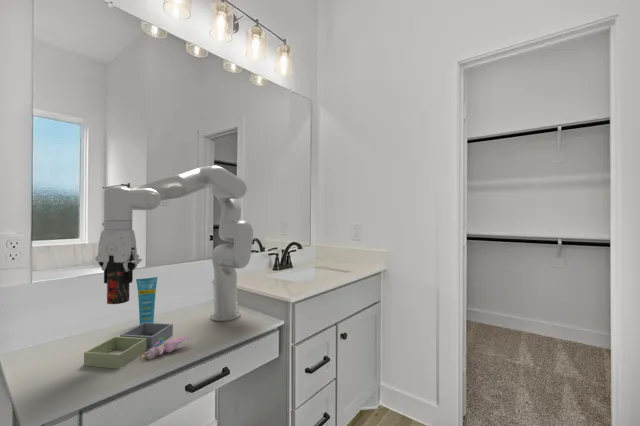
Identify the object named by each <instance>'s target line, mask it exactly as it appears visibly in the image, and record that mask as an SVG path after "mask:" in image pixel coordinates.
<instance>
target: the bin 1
mask: <svg viewBox="0 0 640 426" xmlns="http://www.w3.org/2000/svg"><path fill="white" fill-rule="evenodd" d="M114 350H122V352H120V353H112V351H114ZM123 350H124V351H123ZM147 351H148V349H147V338H133V337H120V336H119V335H118V336H117V335H116V336H115V335H114V336H113V337H111V338H109V339H106V340H105V341H103V342H101V343H100V344H97V345H96V346H93V347H92V348H90V349H88V350H86V351H84V352H83V366H84V367H94V368H95V367H96V368H106V369H107V368H108V369H121V368H123V367H124V366H125V364H126V365H127V364H129V363H130V362H132V361H133V360H134V359H136V358H137V357H140V354H142V353H143V352H147ZM110 352H111V353H110Z"/></svg>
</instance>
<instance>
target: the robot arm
mask: <svg viewBox="0 0 640 426" xmlns="http://www.w3.org/2000/svg"><path fill="white" fill-rule="evenodd" d="M207 188H208V189H209V188H211V193H212V194H213V195H214V197H215V198H216V200H217V201H218V202H219V205H220V208H221V210H220V217H219V218H220V219H219V226H218V237H219V238H220V239H221V240H222V241H225V242H231V243H233V244H225V243H223V244H222V243H221V244H219V245H217V246H216V247H214V249H213V250H212V253H211V261H212V266H213V277H214V279H213V282H214V283H213V285H214V286H213V295H214V296H213V312H211V313H210V317H209V318H210V319H211V321H216V322H229V321H233V320H236V319H238V318H239V317H240V316H241V311H240V310H238V309H237V307H238V306H239V302H238V295H237V294H238V275H237V274H238V273H237V270H236V269H244V268H246V267H247V266H248V264H249V262H250V260H251V255H252V250H253V249H252V247H253V241H254V240H253V239H254V229H253V226H252V224H251V223H250V222H248V221H247V220H241V218H242V217H241V216H242V206H241V204H240V202H239V200H238V199H241V198H244V197H245V195H246V194H247V190H248V188H247V184H246V183H245V181H244V180H243V179H242V178H240V177H239V176H237V175H236V174H234V173H232V172H230V171H229V170H227V169H226V168H224V167H222V166H219V165H208V166H201V167H197V168H196V167H195V168H193V169H191V170H187V171H185V172H184V171H183V172H181V173H178V174H175V175H172V176H168V177H165V178H161V179H158V180H155V181H151V182H147V183H143V184H141V185H138V186H134V187H131V188H129V187H124V186H122V187H121V186H108V187H106V188H105V189H104V193H103V196H104V197H103V201H104V202H103V205H104V206H103V212H104V213H103V215H104V216H103V217H104V219H103V220H104V221H103V222H102V223H101V224H102V227H103V230H102V231H101V233H100V236H99V241H98V251H97V252H98V254H97V256H95V261H96V262H97V263H98V264H99V266H100V267H101V270H102V271H103V284H107V263H108V262H109V256H114V262H116V263H123V266H124V269H125V271H124V272H123V284H128V283H129V284H131V283H133V279H134V277H133V273H134V272H133V271H134V270H135V269H136V268H137V266H138V265H139V264H140V263H141V262H142V260H143V259H142V258H141V256H140V255H139V254H138V253H137V250H138V248H137V240H136V234H135V230H133V218H134V217H133V216H134V215H133V211H153V210H155V209H156V208H159V206H160V205H161V202H162V201H164V200H165V201H167V200H175V199H180V198H185V197H187V196H190V195H191V194H194V193H197V192H199V191H202V190H205V189H207ZM128 263H129V266H128Z"/></svg>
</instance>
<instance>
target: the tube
mask: <svg viewBox="0 0 640 426" xmlns="http://www.w3.org/2000/svg"><path fill="white" fill-rule="evenodd" d="M135 282H136V286H137V299H138V316H139V317H138V318H139V325H140V324H142V323H144V322H146V323H155V321H154V320H155V307H156V306H155V305H156V304H155V303H156V293H157V284H158V276H154V277H146V278H135Z"/></svg>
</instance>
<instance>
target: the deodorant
mask: <svg viewBox="0 0 640 426" xmlns="http://www.w3.org/2000/svg"><path fill="white" fill-rule="evenodd" d="M128 266H129V263H128ZM124 271H125V269H124V266H123V263H116V262H114V256H109V262H108V263H107V283H106V304H108V305H119V304H124V303H127V302H129V301H130V283H128V284H123V272H124Z"/></svg>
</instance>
